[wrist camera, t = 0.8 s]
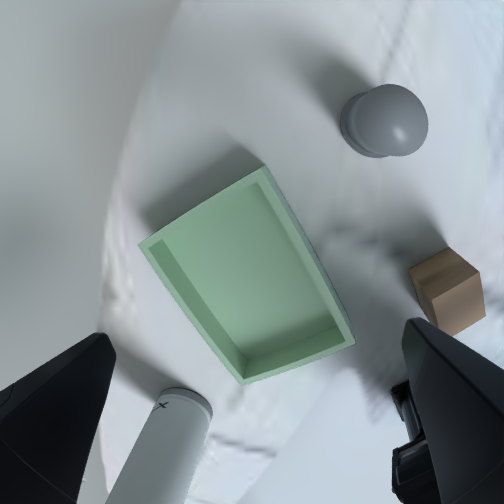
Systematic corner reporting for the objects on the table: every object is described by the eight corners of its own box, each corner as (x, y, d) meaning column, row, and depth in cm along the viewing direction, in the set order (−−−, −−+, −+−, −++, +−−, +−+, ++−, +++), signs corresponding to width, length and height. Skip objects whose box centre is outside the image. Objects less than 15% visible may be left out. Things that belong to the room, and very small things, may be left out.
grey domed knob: (413, 141, 18) (445, 142, 13) (360, 168, 19) (380, 175, 14) (383, 83, 17) (407, 68, 12) (328, 109, 18) (338, 98, 13)
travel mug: (155, 379, 29) (71, 534, 10) (215, 395, 28) (156, 571, 10) (158, 412, 31) (93, 547, 12) (211, 427, 30) (163, 575, 12)
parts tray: (350, 321, 23) (355, 343, 20) (246, 363, 26) (241, 385, 23) (265, 164, 20) (260, 167, 17) (155, 232, 23) (137, 244, 20)
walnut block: (458, 286, 21) (485, 315, 16) (420, 307, 22) (442, 342, 17) (448, 246, 20) (479, 271, 15) (407, 269, 21) (431, 299, 16)
